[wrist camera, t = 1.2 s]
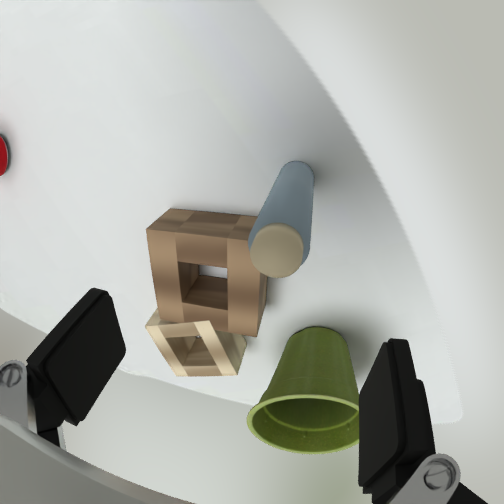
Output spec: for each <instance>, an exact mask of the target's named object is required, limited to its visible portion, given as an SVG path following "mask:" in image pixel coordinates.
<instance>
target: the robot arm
mask: <svg viewBox="0 0 504 504" xmlns="http://www.w3.org/2000/svg"><path fill="white" fill-rule="evenodd" d="M125 353H126V347H125V343H124V340H123V337H122V333H121V330H120V326H119V323H118V319H117V315H116V312H115V308H114V304H113V300H112V297H111V296H109V293H108V292H107V291H105V290H101V289H97V288H91V289H90V290H89V291H88V292H87V293H86V294H85V295H84V296H83V297H82V298H81V299H80V300H79V302H78V303H77V304H76V305H75V306H74V307H73V308H72V309H71V310H70V311H69V312H68V313H67V314H66V315H65V317H64V318H63V319H62V320H61V321H60V322H59V323H58V324H57V325H56V326H55V328H54V329H53V330H52V331H51V332H50V333H49V334H48V335H47V337H46V338H45V339H44V340H43V341H42V342H41V343H40V345H39V346H38V347H37V348H36V349H35V350H34V352H33V353H32V354H31V355H30V356H29V357H28V359H27V360H26V361H27V363H28V365H27V366H26V367H25V365H24V364H23V363H22V362H21V361H17V360H11V361H8V362H5V363H4V364H2V365H1V366H0V504H195V503H191V502H188V501H184V500H181V499H178V498H174V497H171V496H168V495H165V494H162V493H159V492H156V491H153V490H151V489H148V488H145V487H143V486H140V485H137V484H135V483H132V482H130V481H127V480H125V479H122V478H120V477H118V476H115V475H113V474H111V473H109V472H106V471H104V470H102V469H100V468H98V467H96V466H94V465H91V464H90V463H88V462H86V461H84V460H81V459H80V458H78V457H76V456H74V455H72V454H70V453H68V452H67V451H66V446H65V441H64V435H63V429H62V423H63V421H64V420H65V421H67V422H69V423H71V424H73V425H75V426H77V425H78V423H79V422H80V421H83V420H84V419H85V417H86V416H87V414H88V412H89V411H90V409H91V408H92V406H93V405H94V403H95V401H96V400H97V398H98V396H99V395H100V393H101V392H102V390H103V389H104V387H105V385H106V384H107V382H108V381H109V379H110V378H111V376H112V374H113V373H114V371H115V370H116V368H117V367H118V365H119V364H120V362H121V360H122V359H123V357H124V356H125ZM459 481H460V469H459V466H458V464H457V462H456V461H455V460H454V459H453V458H452V457H450V456H448V455H446V454H436V452H435V444H434V437H433V431H432V425H431V419H430V413H429V408H428V402H427V397H426V392H425V388H424V384H423V382H422V381H421V380H419V379H417V378H416V373H415V369H414V364H413V360H412V355H411V351H410V347H409V343H408V341H407V340H405V339H393V338H390V339H389V341H388V342H384V343H383V344H382V346H381V348H380V351H379V353H378V355H377V357H376V360H375V362H374V364H373V366H372V368H371V371H370V373H369V375H368V377H367V379H366V381H365V383H364V385H363V387H362V389H361V391H360V394H359V475H358V484H359V486H361V487H363V494H370V493H371V494H372V503H373V504H488V503H486V502H485V501H484V500H482V499H481V498H480V497H479V496H477V495H476V494H475V493H473V492H472V491H471V490H469V489H468V488H467V487H466V486H464V485H463V484H462V483H460V482H459Z"/></svg>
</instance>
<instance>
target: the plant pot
mask: <svg viewBox="0 0 504 504" xmlns="http://www.w3.org/2000/svg"><path fill="white" fill-rule="evenodd" d="M247 425H248V427H249V429H250V431H251V432H252V433H253V434H254V435H255V436H256V437H257V438H258V439H259V440H261V441H263V442H264V443H267V444H268V445H270V446H272V447H275V448H278V449H281V450H285V451H289V452H294V453H301V454H325V453H331V452H337V451H341V450H345V449H348V448H350V447H352V446H354V445H356V444H358V443H359V393H358V388H357V384H356V380H355V375H354V371H353V367H352V363H351V359H350V354H349V350H348V347H347V343H346V342H345V340H344V339H343V338H342V337H341V335H340V334H339V333H337V332H335V331H333V330H330V329H327V328H321V327H311V328H306V329H304V330H303V331H301V332H298V333H296V334H294V335H292V336H291V337H290V339H289V340H288V342H287V344H286V347H285V349H284V352H283V354H282V356H281V359H280V361H279V364H278V366H277V368H276V371H275V373H274V375H273V377H272V380H271V382H270V384H269V386H268V389H267V390H266V391H265V392H264V394H263V395H262V397H261V399H260V401H259V403H258V404H257V405H255V406H254V407H253V408H252V409H251V410H250V412H249V413H248V416H247Z"/></svg>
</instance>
